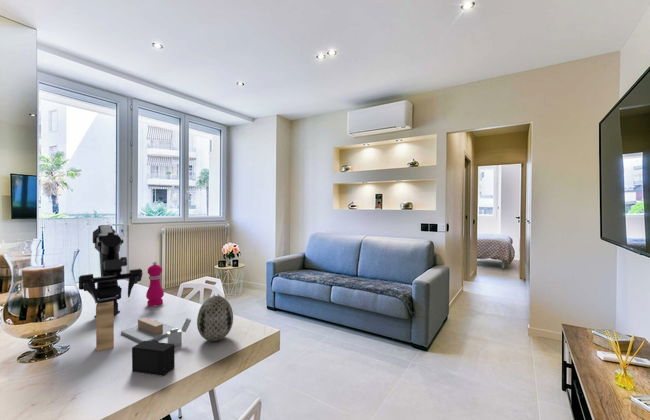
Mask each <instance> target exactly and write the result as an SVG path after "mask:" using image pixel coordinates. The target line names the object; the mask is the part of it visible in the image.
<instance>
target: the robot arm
mask: <svg viewBox="0 0 650 420" xmlns="http://www.w3.org/2000/svg"><path fill="white" fill-rule="evenodd" d="M92 244H94V249H95V250H97V251H98V253H99V255H98V256H99V268H100V269H99V271H100V276H96V277H94V273H89V274H81V275H80V276H78V290H83V291H84V292H87V293H88V294H90V296H91V297H92V298H93V300H94V302H95V304H96V305H97V304H99V303H106V302H112V301H113V303H114V316H115V315H116V314H119V313H120V312H121V310H119V302H118V300H120V299H122V290H123V289H122V287H121V285H120V284H118V281H121V280H127V279H128V283H127V298H130V296H131V293H132V290H133V287H134V285H136V284H138V282H141V281H142V277H143V275H144V274H143V270H142V268H133V269H129V270H128V273H127V272H126V273H122V272H123V269H122V267H127V265H128V258H127V256H123V257H120V250H121V246H122V244H124V239H123V238H122V236H121V235H119V233H118V232H117V231H116V230H115V229H114V228H113V225H111V224H100V225H98V226H97V228H96V229H95V230H93V231H92ZM93 317H94V318H96V314H95V315H94V316H93Z"/></svg>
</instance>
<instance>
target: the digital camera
mask: <svg viewBox="0 0 650 420" xmlns="http://www.w3.org/2000/svg"><path fill="white" fill-rule="evenodd" d="M175 347H176V346H174V344H169V343H168V342H161V341H158V340H152V341H143V342H141V343H140V342H138V343H137V344H135V345H134V346H132V347H131V371H132V372H133V373H140V374H147V375H153V374H154V375H153V376H160V375H161V377H165V376H166V375H167V374H169V373H170V372H171V371H172V370H174V369H175V365H176V363H175V358H176V357H175V355H176V354H175V349H176V348H175ZM168 372H169V373H168Z"/></svg>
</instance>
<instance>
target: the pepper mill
mask: <svg viewBox="0 0 650 420" xmlns="http://www.w3.org/2000/svg"><path fill="white" fill-rule="evenodd" d="M162 272H163V267H162V266H161V265H159V264H158V262H157V261H153V262H152V265H150V266H149V267H148V268H147V274H148V275H149V276H148V279H149V286H148V289H147V291H146V294H145V296H146V300H147V306H148V307H156V306H161V305H163V303H164V302H163V301H164V299H163V297H164V295H165V292H164V289H163V286H162V285H161V279H162Z"/></svg>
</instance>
